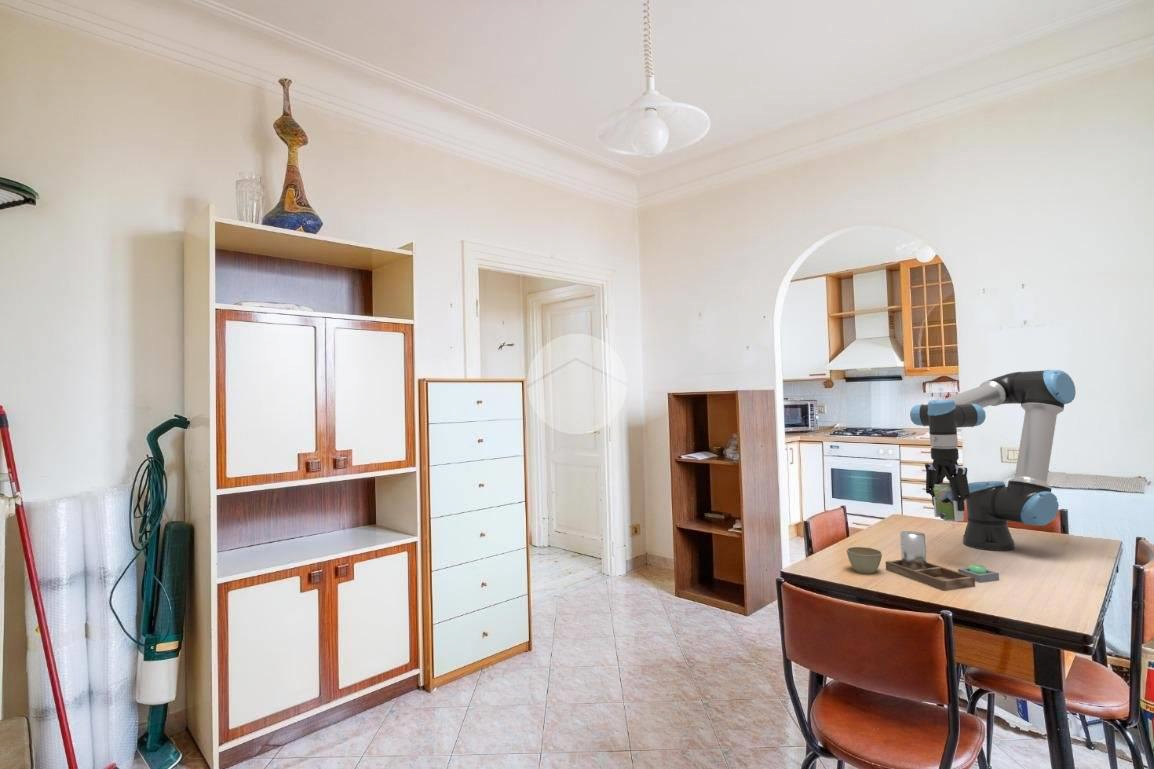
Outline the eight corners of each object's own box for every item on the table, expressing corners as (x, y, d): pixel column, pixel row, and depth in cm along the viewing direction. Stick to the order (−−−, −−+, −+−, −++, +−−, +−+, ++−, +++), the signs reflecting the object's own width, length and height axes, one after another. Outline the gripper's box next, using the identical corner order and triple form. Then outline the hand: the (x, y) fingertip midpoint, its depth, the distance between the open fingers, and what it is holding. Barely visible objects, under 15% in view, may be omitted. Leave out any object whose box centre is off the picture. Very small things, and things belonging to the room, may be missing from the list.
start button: (977, 574, 169) (976, 564, 169) (990, 578, 165) (989, 567, 165) (966, 575, 168) (966, 565, 168) (979, 579, 164) (978, 569, 164)
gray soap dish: (977, 576, 170) (976, 566, 170) (999, 583, 163) (998, 573, 164) (958, 578, 169) (957, 568, 169) (980, 586, 162) (979, 575, 162)
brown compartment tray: (914, 569, 179) (914, 558, 180) (975, 589, 159) (974, 577, 159) (886, 572, 177) (885, 561, 177) (943, 594, 156) (943, 581, 157)
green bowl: (849, 577, 174) (848, 554, 174) (846, 567, 183) (844, 545, 183) (885, 579, 170) (884, 556, 171) (880, 570, 180) (879, 547, 180)
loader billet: (914, 568, 177) (912, 530, 177) (932, 574, 170) (930, 535, 171) (897, 570, 175) (895, 532, 176) (914, 576, 169) (912, 536, 169)
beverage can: (966, 522, 176) (963, 484, 177) (940, 522, 178) (938, 484, 178) (957, 518, 183) (954, 481, 183) (932, 518, 184) (929, 481, 184)
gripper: (909, 446, 190) (914, 514, 189) (962, 450, 170) (967, 526, 170) (927, 444, 191) (932, 511, 191) (981, 448, 172) (987, 523, 172)
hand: (948, 518), depth 180 cm, fingers closed on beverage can, 7 cm apart
